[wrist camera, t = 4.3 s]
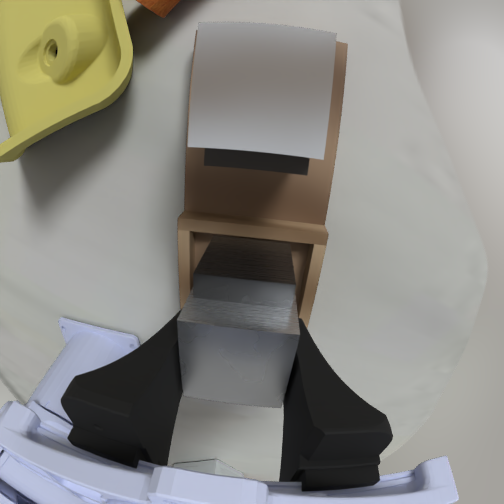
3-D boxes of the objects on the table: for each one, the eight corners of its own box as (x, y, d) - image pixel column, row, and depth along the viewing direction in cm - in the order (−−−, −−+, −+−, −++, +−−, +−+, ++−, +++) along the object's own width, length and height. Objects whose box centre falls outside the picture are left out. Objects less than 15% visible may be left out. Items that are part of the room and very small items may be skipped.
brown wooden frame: (295, 334, 20) (301, 418, 13) (192, 323, 20) (165, 402, 14) (340, 50, 12) (388, 7, 6) (203, 37, 12) (155, -12, 6)
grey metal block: (279, 323, 16) (281, 408, 11) (208, 315, 16) (183, 395, 11) (293, 239, 14) (305, 309, 9) (211, 231, 14) (175, 294, 9)
